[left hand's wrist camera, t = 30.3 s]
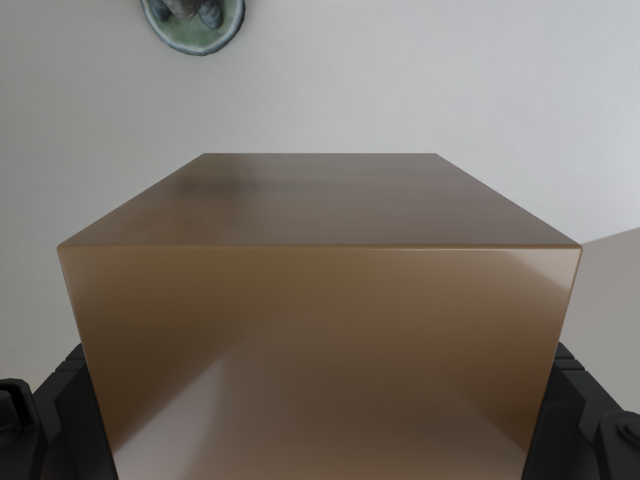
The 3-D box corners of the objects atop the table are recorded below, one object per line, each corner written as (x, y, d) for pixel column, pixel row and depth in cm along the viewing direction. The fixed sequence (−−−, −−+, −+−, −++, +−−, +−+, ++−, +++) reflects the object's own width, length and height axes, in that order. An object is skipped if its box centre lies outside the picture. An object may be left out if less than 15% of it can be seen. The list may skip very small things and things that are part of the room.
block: (415, 357, 18) (494, 588, 10) (224, 357, 18) (145, 588, 10) (436, 153, 15) (586, 246, 6) (202, 153, 15) (53, 245, 6)
